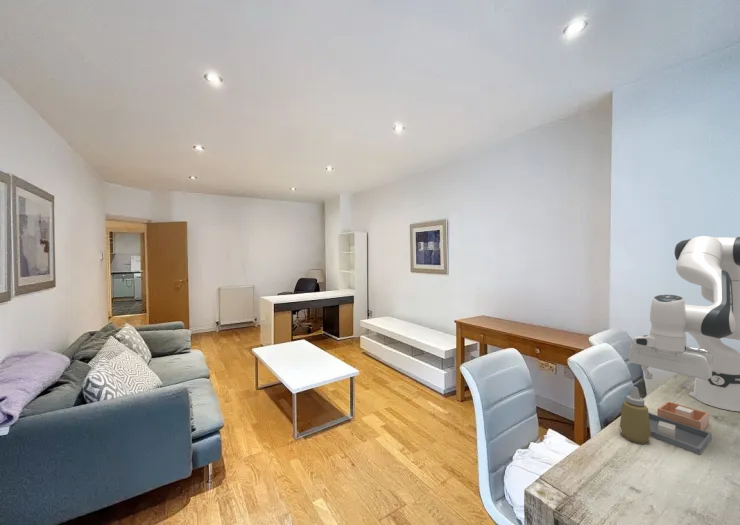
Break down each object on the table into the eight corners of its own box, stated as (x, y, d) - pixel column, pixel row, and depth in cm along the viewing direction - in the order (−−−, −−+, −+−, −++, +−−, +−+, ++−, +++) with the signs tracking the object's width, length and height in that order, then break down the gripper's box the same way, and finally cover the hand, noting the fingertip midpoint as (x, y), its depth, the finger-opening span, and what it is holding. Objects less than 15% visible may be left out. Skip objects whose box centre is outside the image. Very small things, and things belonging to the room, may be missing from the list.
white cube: (678, 415, 117) (678, 405, 116) (693, 420, 113) (693, 410, 113) (675, 418, 114) (675, 408, 114) (690, 423, 111) (690, 413, 111)
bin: (667, 412, 120) (667, 400, 120) (708, 425, 111) (709, 413, 111) (657, 420, 115) (657, 408, 114) (700, 435, 105) (700, 422, 105)
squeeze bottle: (657, 448, 98) (657, 393, 98) (628, 445, 100) (629, 391, 99) (640, 434, 106) (641, 383, 106) (614, 431, 107) (614, 381, 107)
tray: (645, 418, 116) (645, 411, 116) (712, 441, 102) (712, 433, 101) (629, 430, 108) (629, 423, 108) (699, 457, 94) (699, 448, 94)
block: (659, 431, 106) (659, 420, 106) (675, 436, 103) (675, 425, 103) (658, 436, 103) (658, 424, 103) (674, 441, 100) (674, 429, 100)
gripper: (715, 349, 96) (714, 392, 96) (633, 335, 113) (633, 372, 113) (710, 352, 92) (709, 397, 92) (626, 337, 110) (626, 375, 110)
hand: (667, 383), depth 103 cm, fingers open, 8 cm apart
